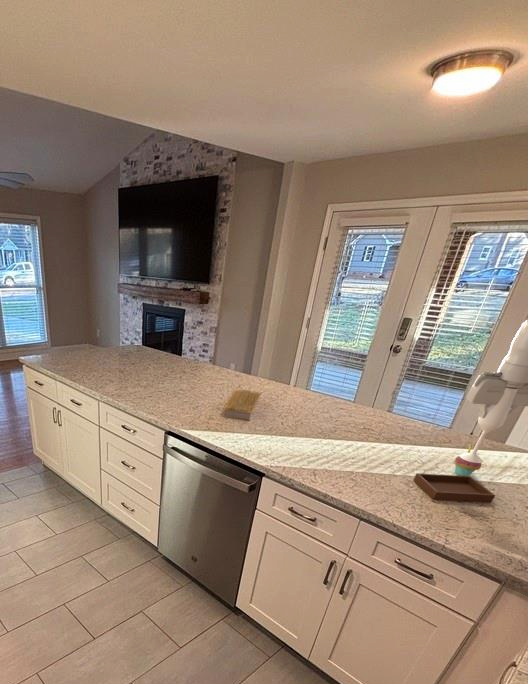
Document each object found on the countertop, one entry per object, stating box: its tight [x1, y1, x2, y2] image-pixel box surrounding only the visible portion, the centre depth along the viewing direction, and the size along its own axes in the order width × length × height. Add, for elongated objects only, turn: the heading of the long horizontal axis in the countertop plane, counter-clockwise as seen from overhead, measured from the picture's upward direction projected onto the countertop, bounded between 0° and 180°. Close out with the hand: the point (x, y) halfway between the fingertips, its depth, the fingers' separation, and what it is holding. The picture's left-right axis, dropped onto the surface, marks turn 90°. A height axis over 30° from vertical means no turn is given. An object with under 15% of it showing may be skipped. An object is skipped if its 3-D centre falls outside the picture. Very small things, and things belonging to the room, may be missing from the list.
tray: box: [412, 472, 496, 504], centre depth 145 cm, size 20×14×3 cm
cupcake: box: [453, 444, 482, 476], centre depth 155 cm, size 9×8×12 cm
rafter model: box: [222, 389, 262, 421], centre depth 210 cm, size 35×14×6 cm, turn 160°
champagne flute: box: [459, 388, 518, 464], centre depth 131 cm, size 7×7×24 cm
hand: (492, 418), depth 130 cm, fingers closed on champagne flute, 5 cm apart
